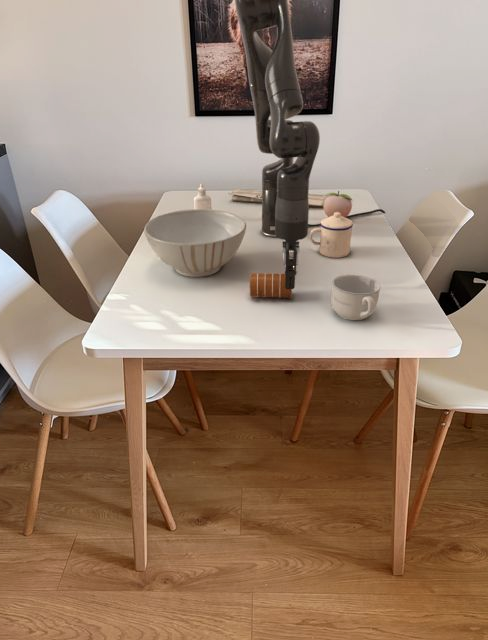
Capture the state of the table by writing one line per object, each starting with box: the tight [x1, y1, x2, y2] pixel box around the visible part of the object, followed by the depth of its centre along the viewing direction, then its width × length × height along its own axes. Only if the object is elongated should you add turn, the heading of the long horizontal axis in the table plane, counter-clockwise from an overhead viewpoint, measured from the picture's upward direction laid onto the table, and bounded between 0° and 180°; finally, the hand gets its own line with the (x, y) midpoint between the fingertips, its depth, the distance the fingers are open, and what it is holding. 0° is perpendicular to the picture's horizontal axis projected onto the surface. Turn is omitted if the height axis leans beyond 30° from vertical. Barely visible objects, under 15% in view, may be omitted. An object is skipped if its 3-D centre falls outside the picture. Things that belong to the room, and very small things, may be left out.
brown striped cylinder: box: [249, 272, 293, 300], centre depth 136 cm, size 10×6×6 cm, turn 87°
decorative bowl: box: [143, 208, 247, 278], centre depth 151 cm, size 27×27×12 cm
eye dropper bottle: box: [193, 183, 213, 210], centre depth 183 cm, size 4×6×12 cm
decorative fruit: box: [323, 190, 353, 217], centre depth 181 cm, size 9×8×10 cm
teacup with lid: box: [308, 212, 354, 259], centre depth 159 cm, size 12×9×12 cm
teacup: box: [330, 274, 381, 321], centre depth 127 cm, size 14×11×8 cm
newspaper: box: [227, 188, 329, 208], centre depth 201 cm, size 35×12×4 cm, turn 76°
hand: (289, 281), depth 135 cm, fingers open, 8 cm apart
